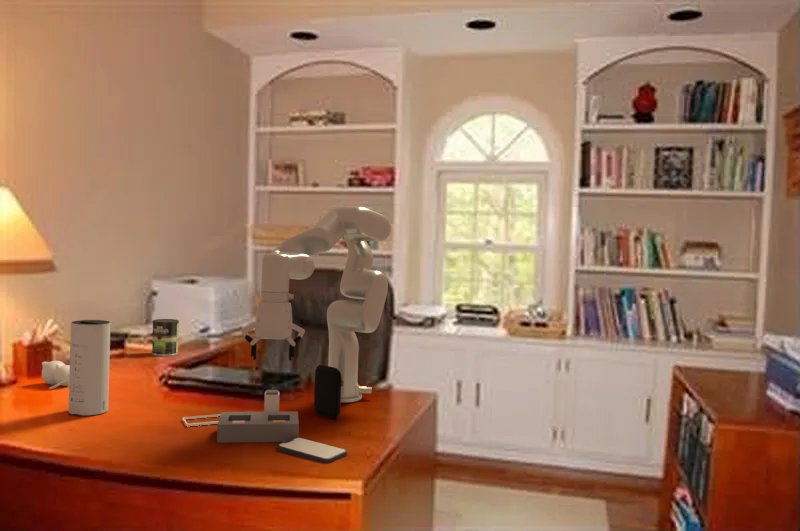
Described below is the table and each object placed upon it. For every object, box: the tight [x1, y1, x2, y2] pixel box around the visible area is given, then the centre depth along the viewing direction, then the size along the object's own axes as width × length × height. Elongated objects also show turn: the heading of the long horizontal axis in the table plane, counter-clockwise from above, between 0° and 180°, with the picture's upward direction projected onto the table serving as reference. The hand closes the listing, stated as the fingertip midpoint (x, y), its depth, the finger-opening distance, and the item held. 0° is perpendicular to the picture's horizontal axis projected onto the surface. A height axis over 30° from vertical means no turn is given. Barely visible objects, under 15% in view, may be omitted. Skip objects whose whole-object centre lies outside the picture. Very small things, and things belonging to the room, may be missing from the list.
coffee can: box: [151, 318, 180, 357], centre depth 283 cm, size 10×10×14 cm
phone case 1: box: [181, 413, 221, 428], centre depth 188 cm, size 7×1×15 cm
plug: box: [263, 389, 280, 412], centre depth 190 cm, size 4×4×9 cm
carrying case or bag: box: [313, 364, 343, 420], centre depth 196 cm, size 11×3×15 cm, turn 51°
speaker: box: [68, 319, 111, 417], centre depth 192 cm, size 11×10×26 cm
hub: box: [216, 410, 300, 444], centre depth 177 cm, size 20×12×5 cm, turn 100°
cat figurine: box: [41, 360, 70, 390], centre depth 222 cm, size 9×11×12 cm
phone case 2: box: [276, 437, 348, 464], centre depth 165 cm, size 9×2×16 cm
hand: (272, 359), depth 189 cm, fingers open, 9 cm apart
